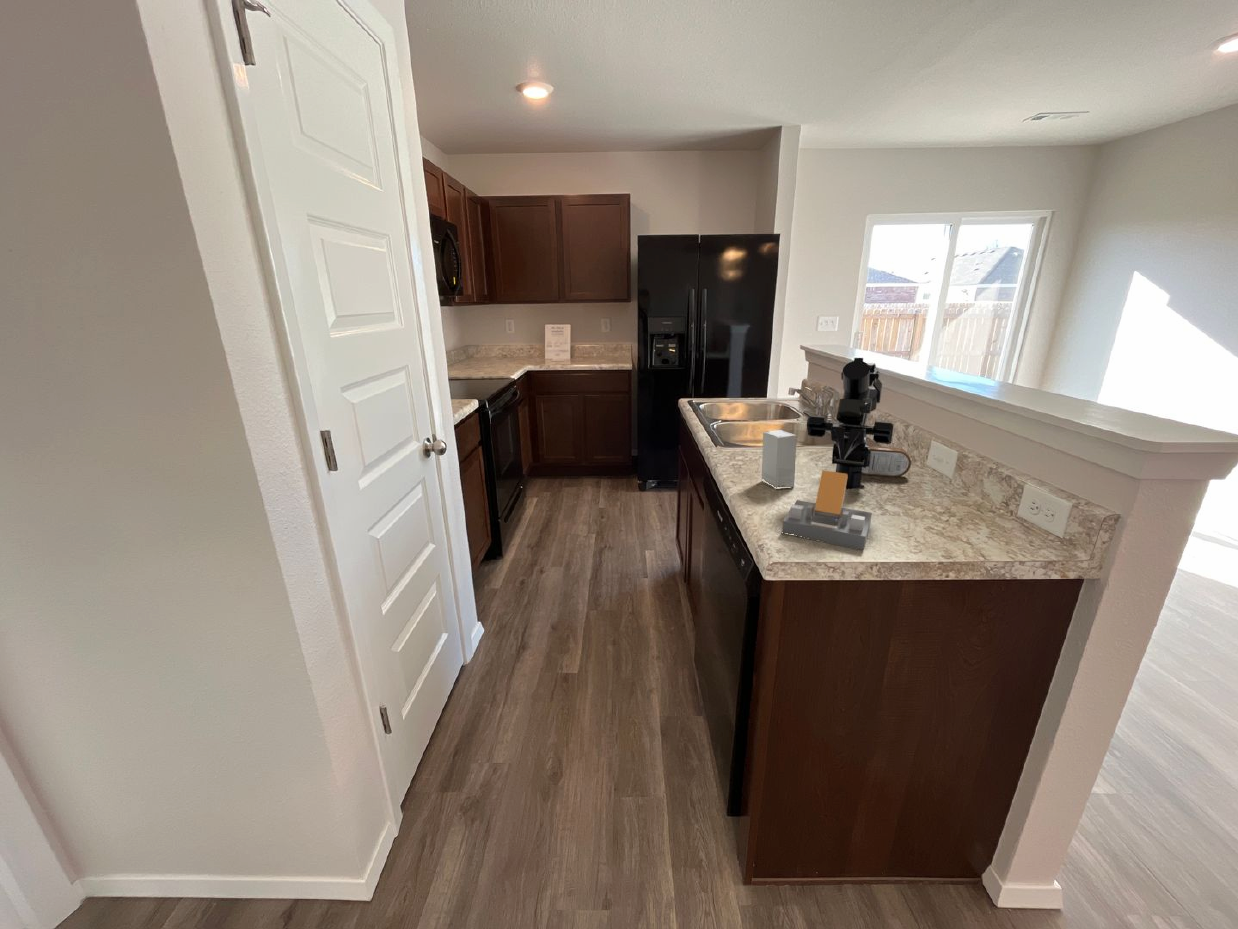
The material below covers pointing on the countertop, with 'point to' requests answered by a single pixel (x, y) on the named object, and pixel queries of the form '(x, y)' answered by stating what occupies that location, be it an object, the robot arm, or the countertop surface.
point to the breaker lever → (831, 494)
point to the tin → (887, 462)
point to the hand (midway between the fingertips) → (842, 459)
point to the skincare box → (779, 458)
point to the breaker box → (828, 525)
